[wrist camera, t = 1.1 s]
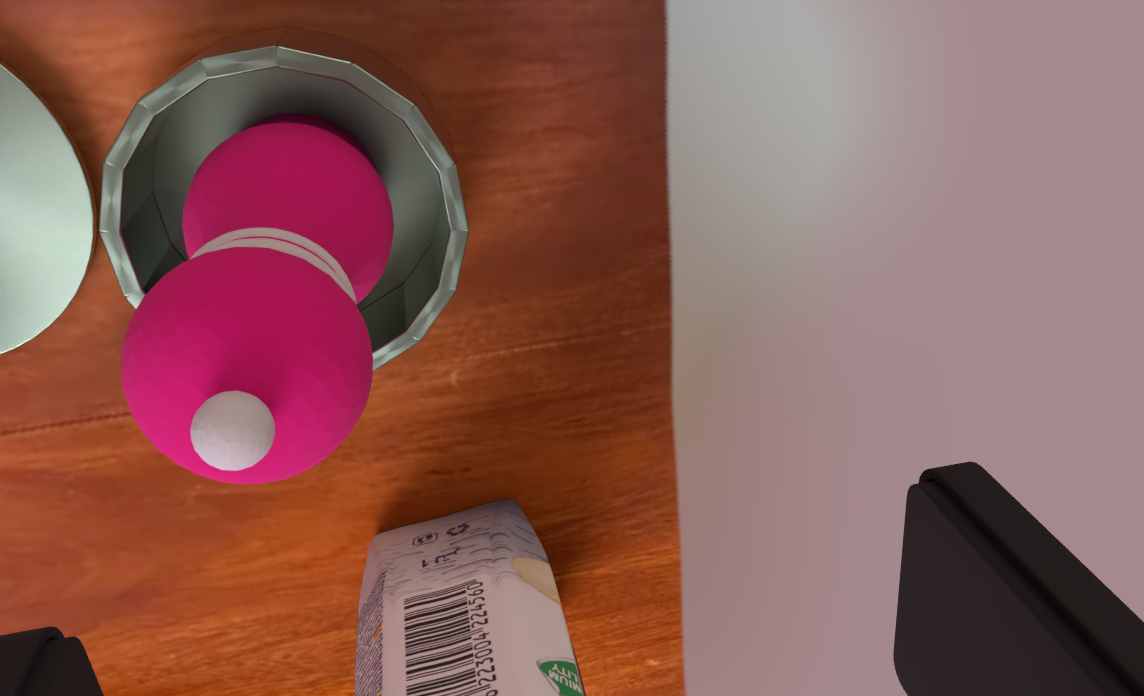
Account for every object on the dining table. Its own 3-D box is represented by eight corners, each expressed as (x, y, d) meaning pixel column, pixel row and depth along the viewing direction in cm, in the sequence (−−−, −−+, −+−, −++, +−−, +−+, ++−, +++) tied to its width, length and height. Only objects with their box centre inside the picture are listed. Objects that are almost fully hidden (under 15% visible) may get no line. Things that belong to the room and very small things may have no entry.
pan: (125, 305, 39) (90, 361, 35) (148, -8, 35) (111, 7, 30) (426, 350, 43) (431, 407, 38) (484, 69, 38) (498, 94, 33)
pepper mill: (430, 191, 39) (467, 440, 21) (309, 309, 40) (249, 637, 23) (291, 59, 36) (199, 221, 18) (165, 191, 37) (-35, 463, 20)
